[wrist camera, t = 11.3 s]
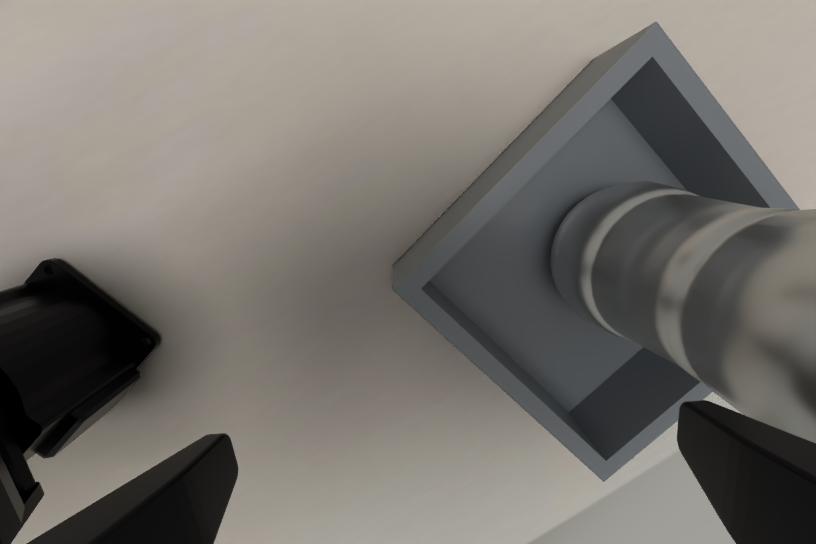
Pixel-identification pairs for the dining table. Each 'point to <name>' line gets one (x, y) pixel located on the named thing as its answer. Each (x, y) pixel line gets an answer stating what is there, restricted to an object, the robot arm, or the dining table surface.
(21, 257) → the dining table surface
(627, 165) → the tote
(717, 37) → the dining table surface
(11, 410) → the robot arm
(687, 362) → the plastic bottle
